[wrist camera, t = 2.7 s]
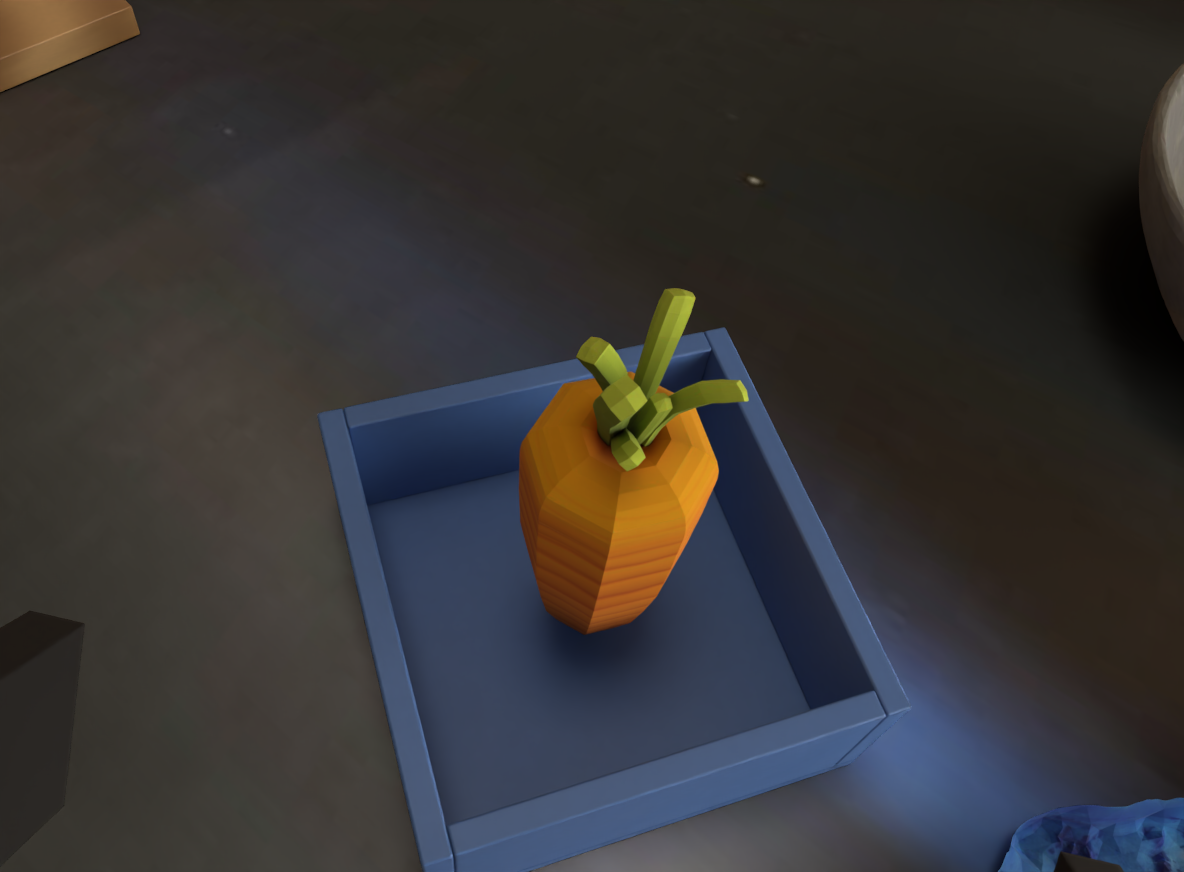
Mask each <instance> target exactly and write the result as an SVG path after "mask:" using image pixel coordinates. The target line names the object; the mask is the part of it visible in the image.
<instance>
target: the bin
mask: <svg viewBox="0 0 1184 872" xmlns="http://www.w3.org/2000/svg"><path fill="white" fill-rule="evenodd" d="M643 347H644V344H642V345H638V346H633V347H628V348H623V349H619V350H615V351H616V352H617V353H618V355H619V357H620V358H621V360H622V362H623V364H624V365H625V367H626V370H627V372H633V373H636V370H637V366H638V363H639V360H640V357H641V353H642V350H643ZM592 378H594V376H593V375H592V374H591V373H590V372H589V371H588V370H587V369H586V368H585V367H584V366H583V365H582V363H581V362H580V361H579V360H578V359H577V358H576V359H571V360H567V361H562V362H557V363H553V364H548V365H543V366H538V367H534V368H529V369H524V370H519V371H515V372H510V373H505V374H501V375H496V376H491V377H486V378H482V379H477V380H472V381H467V382H463V383H458V384H453V385H449V386H444V387H439V388H434V389H430V390H425V391H420V392H416V393H411V394H406V395H401V396H397V397H392V398H387V399H382V400H378V401H373V402H368V403H364V404H359V405H354V406H349V407H345V408H344V411H343V410H342V409H336V410H331V411H326V412H321V413H319V414H318V416H317V418H318V422H319V426H320V431H321V435H322V439H323V444H324V448H325V452H326V456H327V461H328V465H329V469H330V474H331V478H332V482H333V487H334V491H335V495H336V500H337V504H338V508H339V513H340V517H341V521H342V526H343V530H344V534H345V539H346V543H347V547H348V552H349V556H350V560H351V565H352V569H353V573H354V578H355V582H356V586H357V590H358V595H359V599H360V603H361V608H362V612H363V616H364V621H365V625H366V629H367V634H368V638H369V642H370V647H371V651H372V655H373V660H374V664H375V668H376V673H377V677H378V681H379V686H380V690H381V694H382V699H383V703H384V707H385V711H386V716H387V720H388V724H389V729H390V733H391V737H392V742H393V746H394V750H395V755H396V759H397V763H398V768H399V772H400V776H401V781H402V785H403V789H404V794H405V798H406V802H407V807H408V811H409V815H410V820H411V824H412V828H413V833H414V837H415V841H416V845H417V850H418V854H419V858H420V863H421V867H422V871H423V872H528V871H531V870H534V869H537V868H540V867H543V866H546V865H549V864H552V863H555V862H558V861H561V860H564V859H567V858H570V857H573V856H576V855H579V854H582V853H585V852H588V851H591V850H594V849H597V848H600V847H603V846H606V845H609V844H612V843H615V842H618V841H621V840H624V839H627V838H630V837H633V836H636V835H639V834H642V833H645V832H648V831H651V830H654V829H657V828H660V827H663V826H666V825H669V824H672V823H675V822H678V821H681V820H684V819H687V818H690V817H693V816H696V815H699V814H702V813H705V812H708V811H711V810H714V809H717V808H720V807H723V806H726V805H729V804H732V803H735V802H738V801H741V800H744V799H747V798H750V797H753V796H756V795H759V794H762V793H765V792H768V791H771V790H774V789H777V788H780V787H783V786H786V785H789V784H792V783H795V782H798V781H800V780H803V779H806V778H809V777H812V776H815V775H818V774H821V773H824V772H827V771H830V770H833V769H836V768H839V767H842V766H845V765H848V764H851V763H852V762H853V761H854V760H855V759H856V758H857V757H858V756H859V755H860V754H861V753H862V752H864V751H865V750H866V749H867V748H868V747H869V746H870V745H871V744H872V743H874V742H875V741H876V740H877V739H878V738H879V737H880V736H881V735H882V734H883V733H885V732H886V731H887V730H888V729H889V728H890V727H891V726H892V725H893V724H895V723H896V722H897V721H898V720H899V719H900V718H901V717H902V716H903V715H904V714H906V713H907V712H908V711H909V710H910V709H911V704H910V702H909V700H908V698H907V696H906V694H905V692H904V690H903V688H902V686H901V684H900V682H899V680H898V678H897V676H896V674H895V672H894V670H893V668H892V666H891V664H890V662H889V660H888V658H887V656H886V653H885V651H884V649H883V647H882V645H881V643H880V641H879V639H878V637H877V635H876V633H875V631H874V629H873V627H872V625H871V623H870V621H869V619H868V617H867V615H866V613H865V611H864V609H863V607H862V605H861V603H860V601H859V599H858V597H857V595H856V593H855V590H854V588H853V586H852V584H851V582H850V580H849V578H848V576H847V574H846V572H845V570H844V568H843V566H842V564H841V562H840V560H839V558H838V556H837V554H836V552H835V550H834V548H833V546H832V544H831V542H830V540H829V538H828V536H827V534H826V532H825V529H824V527H823V525H822V523H821V521H820V519H819V517H818V515H817V513H816V511H815V509H814V507H813V505H812V503H811V501H810V499H809V497H808V495H807V493H806V491H805V489H804V487H803V485H802V483H801V481H800V479H799V477H798V475H797V473H796V471H795V469H794V466H793V464H792V462H791V460H790V458H789V456H788V454H787V452H786V450H785V448H784V446H783V444H782V442H781V440H780V438H779V436H778V434H777V432H776V430H775V428H774V426H773V424H772V422H771V420H770V418H769V416H768V414H767V412H766V410H765V408H764V405H763V403H762V401H761V399H760V397H759V395H758V393H757V391H756V389H755V387H754V385H753V383H752V381H751V379H750V377H749V375H748V373H747V371H746V369H745V367H744V365H743V363H742V361H741V359H740V357H739V355H738V353H737V351H736V349H735V347H734V345H733V342H732V340H731V338H730V336H729V334H728V332H727V330H726V328H718V329H713V330H709V331H706V332H704V333H703V332H699V333H694V334H690V335H685V336H681V338H680V340H679V342H678V344H677V346H676V349H675V351H674V353H673V355H672V358H671V360H670V362H669V364H668V367H667V369H666V371H665V373H664V376H663V378H662V380H661V382H660V384H659V386H661V387H663V388H665V389H667V390H669V391H671V392H673V393H675V392H677V391H679V390H681V389H683V388H685V387H687V386H690V385H692V384H695V383H697V382H700V381H707V380H719V379H725V380H740V381H741V382H742V384H743V385H744V387H745V388H746V390H747V394H748V398H749V401H745V402H734V403H713V404H709V405H705V406H701V407H697V408H696V410H697V413H698V415H699V418H700V420H701V423H702V425H703V428H704V430H705V433H706V435H707V437H708V440H709V442H710V445H711V447H712V450H713V452H714V455H715V457H716V460H717V463H718V468H719V473H718V479H717V481H716V483H715V486H714V488H713V490H712V492H711V495H710V497H709V499H708V501H707V504H706V506H705V508H704V510H703V513H702V515H701V517H700V519H699V521H698V523H697V525H696V526H695V528H694V530H693V532H692V534H691V536H690V538H689V540H688V542H687V544H686V546H685V548H684V549H683V551H682V553H681V555H680V556H679V558H678V560H677V562H676V564H675V565H674V567H673V569H672V571H671V572H670V574H669V576H668V578H667V579H666V581H665V583H664V585H663V586H662V588H661V590H660V592H659V594H658V595H657V597H656V598H655V599H654V600H653V601H652V602H651V603H650V605H649V606H648V607H647V608H646V609H645V610H644V611H643V612H642V613H641V614H640V615H639V616H638V617H636V618H635V619H634V620H633V621H632V622H631V623H629V624H625V625H622V626H619V627H616V628H612V629H607V630H603V631H599V632H595V633H591V634H586V635H583V634H581V633H580V632H578V631H576V630H574V629H572V628H571V627H569V626H567V625H565V624H564V623H562V622H560V621H558V620H556V619H555V618H554V617H553V616H552V615H550V614H549V613H548V612H547V611H546V609H545V606H544V604H543V601H542V599H541V596H540V592H539V589H538V585H537V582H536V578H535V575H534V571H533V567H532V564H531V560H530V557H529V553H528V550H527V546H526V542H525V538H524V534H523V531H522V527H521V523H520V504H519V453H520V447H521V443H522V441H523V440H524V438H525V437H526V435H527V434H528V433H529V431H530V430H531V428H532V427H533V426H534V424H535V423H536V421H537V420H538V419H539V417H540V416H541V414H542V413H543V412H544V410H545V409H546V407H547V406H548V405H549V403H550V402H551V400H552V399H553V398H554V396H555V395H556V394H557V392H558V391H559V389H560V388H561V387H562V385H563V384H564V383H570V382H576V381H581V380H587V379H592Z"/></svg>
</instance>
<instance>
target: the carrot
mask: <svg viewBox="0 0 1184 872" xmlns="http://www.w3.org/2000/svg"><path fill="white" fill-rule="evenodd" d="M694 301H695V296H694V295H693V293H692V292H689V291H686V290H683V289H677V288H673V289H665V290H664V292H663V294H662V296H661V298H660V300H659V302H658V305H657V307H656V310H655V313H654V316H653V319H652V321H651V324H650V327H649V331H648V334H647V337H646V340H645V344H644V347H643V350H642V353H641V357H640V360H639V363H638V366H637V370H636V373H633V372H627V370H626V367H625V365H624V364H623V362H622V360H621V358H620V357H619V355H618V353H617V352H616V351H615V350H614V349H613V347H612V346H611V345H610V344H609V343H607V342H606V341H604V340H602V339H601V338H596V337H590V338H589V339H588V340H587V341H586V342H585V343H584V344H583V345H582V346H581V348H580V350H579V352H578V354H577V356H576V358H577V359H578V360H579V361H580V362H581V363H582V365H583V366H584V367H585V368H586V369H587V370H588V371H589V372H590V373H591V374H592V375H593V376H594V378H592V379H587V380H581V381H576V382H570V383H564V384H563V385H562V387H561V388H560V389H559V391H558V392H557V394H556V395H555V396H554V398H553V399H552V400H551V402H550V403H549V405H548V406H547V407H546V409H545V410H544V412H543V413H542V414H541V416H540V417H539V419H538V420H537V421H536V423H535V424H534V426H533V427H532V428H531V430H530V431H529V433H528V434H527V435H526V437H525V438H524V440H523V441H522V443H521V447H520V453H519V504H520V523H521V527H522V531H523V534H524V538H525V542H526V546H527V550H528V553H529V557H530V560H531V564H532V567H533V571H534V575H535V578H536V582H537V585H538V589H539V592H540V596H541V599H542V601H543V604H544V606H545V609H546V611H547V612H548V613H549V614H550V615H552V616H553V617H554V618H555V619H556V620H558V621H560V622H562V623H564V624H565V625H567V626H569V627H571V628H572V629H574V630H576V631H578V632H580V633H581V634H583V635H586V634H591V633H595V632H599V631H603V630H607V629H612V628H616V627H619V626H622V625H625V624H629V623H631V622H632V621H633V620H634V619H635V618H636V617H638V616H639V615H640V614H641V613H642V612H643V611H644V610H645V609H646V608H647V607H648V606H649V605H650V603H651V602H652V601H653V600H654V599H655V598H656V597H657V595H658V594H659V592H660V590H661V588H662V586H663V585H664V583H665V581H666V579H667V578H668V576H669V574H670V572H671V571H672V569H673V567H674V565H675V564H676V562H677V560H678V558H679V556H680V555H681V553H682V551H683V549H684V548H685V546H686V544H687V542H688V540H689V538H690V536H691V534H692V532H693V530H694V528H695V526H696V525H697V523H698V521H699V519H700V517H701V515H702V513H703V510H704V508H705V506H706V504H707V501H708V499H709V497H710V495H711V492H712V490H713V488H714V486H715V483H716V481H717V479H718V473H719V468H718V463H717V460H716V457H715V455H714V452H713V450H712V447H711V445H710V442H709V440H708V437H707V435H706V433H705V430H704V428H703V425H702V423H701V420H700V418H699V415H698V413H697V410H696V408H697V407H701V406H705V405H709V404H713V403H734V402H745V401H749V398H748V394H747V390H746V388H745V387H744V385H743V384H742V382H741V381H740V380H725V379H719V380H707V381H700V382H697V383H695V384H692V385H690V386H687V387H685V388H683V389H681V390H679V391H677V392H675V393H673V392H671V391H669V390H667V389H665V388H663V387H661V386H659V384H660V382H661V380H662V378H663V376H664V373H665V371H666V369H667V367H668V364H669V362H670V360H671V358H672V355H673V353H674V351H675V349H676V346H677V344H678V342H679V340H680V338H681V335H682V333H683V330H684V328H685V326H686V323H687V321H688V319H689V316H690V314H691V311H692V307H693V304H694Z"/></svg>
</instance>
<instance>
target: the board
mask: <svg viewBox="0 0 1184 872" xmlns="http://www.w3.org/2000/svg"><path fill="white" fill-rule="evenodd" d="M139 34H140V32H139V29H138V26H137V22H136V19H135V16H134V13H133V10H132V7H131V5H130V4H129V3H127V2H126V1H125V0H0V92H2V91H5V90H7V89H9V88H12V87H14V86H17V85H19V84H21V83H24V82H26V81H29V80H31V79H33V78H36V77H38V76H40V75H43V74H45V73H48V72H50V71H52V70H55V69H57V68H60V67H62V66H64V65H67V64H69V63H72V62H74V61H76V60H79V59H81V58H84V57H86V56H88V55H91V54H93V53H96V52H98V51H100V50H103V49H105V48H108V47H110V46H112V45H115V44H117V43H120V42H122V41H124V40H127V39H129V38H132V37H134V36H136V35H139Z"/></svg>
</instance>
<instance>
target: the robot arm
mask: <svg viewBox="0 0 1184 872" xmlns="http://www.w3.org/2000/svg"><path fill="white" fill-rule="evenodd" d="M84 626H85V623H81V622H76V621H72V620H68V619H63V618H59V617H55V616H51V615H46V614H42V613H38V612H33V611H28V612H27V613H25V614H23V615H22V616H20V617H18V618H17V619H15V620H13V621H12V622H10V623H8V624H7V625H5V626H3V627H1V628H0V866H1V865H2V864H3V863H4V862H5V861H6V860H8V859H9V858H10V857H11V856H12V855H13V854H14V853H15V852H16V851H17V850H18V849H19V848H20V847H21V846H22V845H23V844H24V843H25V842H27V841H28V840H29V839H30V838H31V837H32V836H33V835H34V834H35V833H36V832H37V831H38V830H39V829H40V828H41V827H42V826H43V825H44V824H46V823H47V822H48V821H49V820H50V819H51V818H52V817H53V816H54V815H55V814H56V813H57V812H58V811H59V810H60V809H61V808H62V807H63V806H64V802H65V793H66V784H67V775H68V766H69V758H70V749H71V740H72V731H73V723H74V714H75V705H76V696H77V687H78V679H79V670H80V661H81V652H82V644H83V635H84ZM1054 872H1124V871H1123V869H1122V868H1121V866H1120V865H1117V864H1113V863H1109V862H1104V861H1100V860H1096V859H1092V858H1087V857H1083V856H1079V855H1074V854H1070V853H1066V852H1062V851H1061V852H1060V854H1059V857H1058V860H1057V863H1056V866H1055V869H1054Z"/></svg>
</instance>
